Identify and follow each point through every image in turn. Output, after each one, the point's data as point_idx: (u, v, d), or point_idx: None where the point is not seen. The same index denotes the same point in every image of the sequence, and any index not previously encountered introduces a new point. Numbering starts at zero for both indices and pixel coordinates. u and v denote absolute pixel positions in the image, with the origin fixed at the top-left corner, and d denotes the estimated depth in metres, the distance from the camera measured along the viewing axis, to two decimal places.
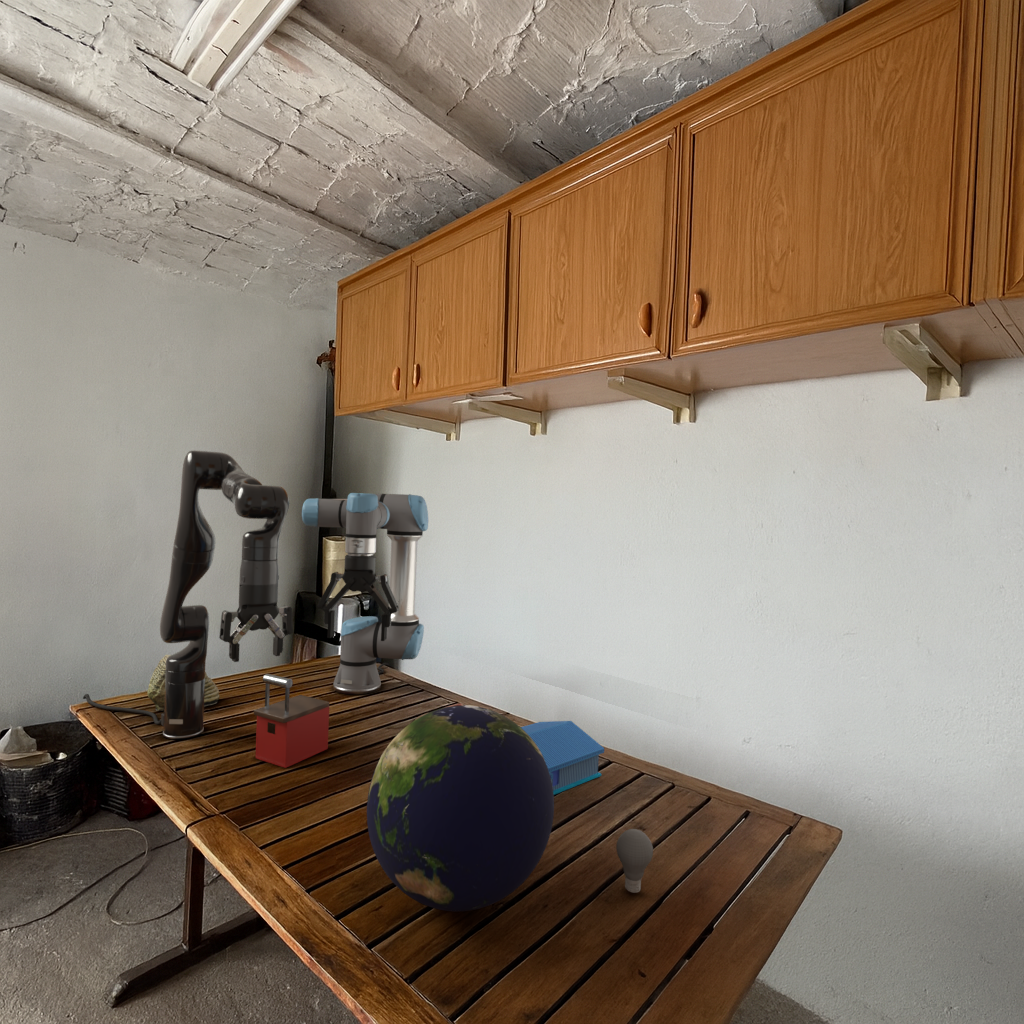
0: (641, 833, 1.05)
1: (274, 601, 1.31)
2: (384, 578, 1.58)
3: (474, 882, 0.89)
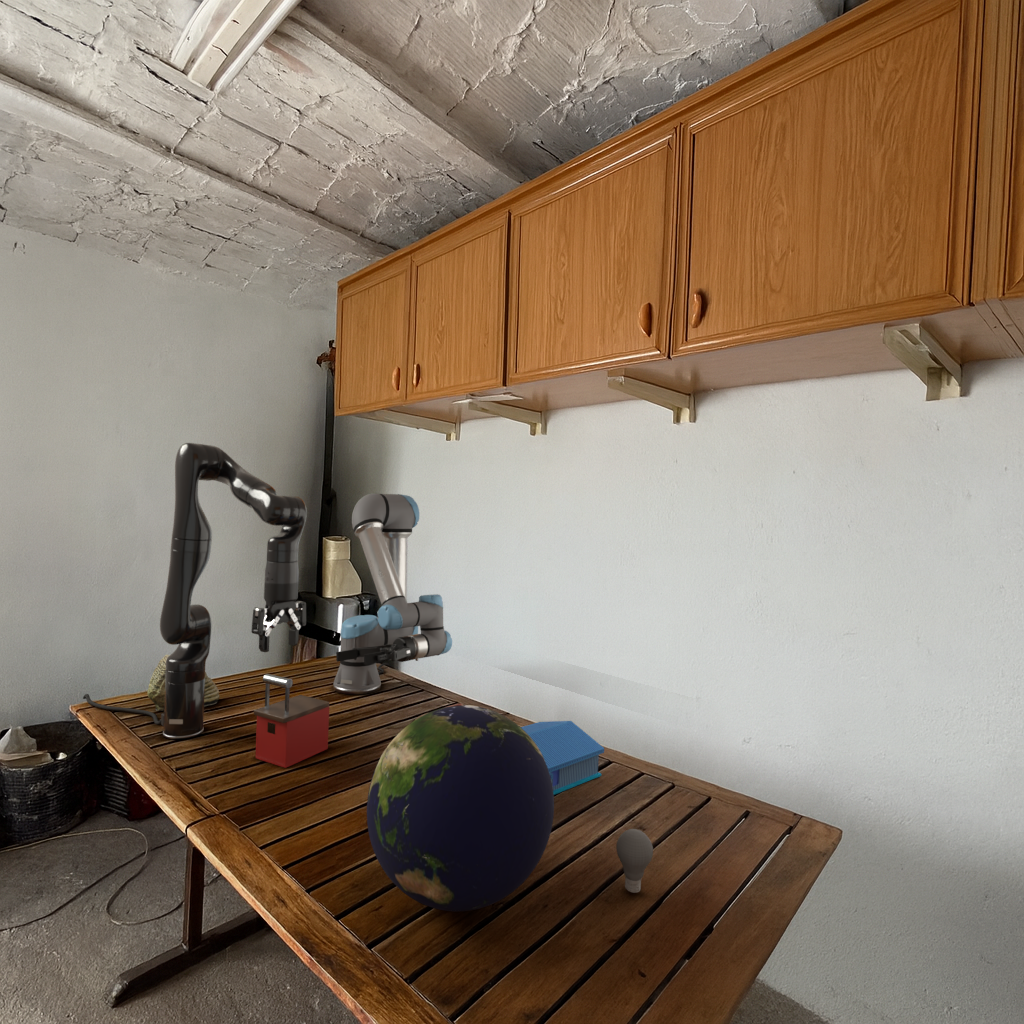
0: (641, 833, 1.05)
1: None
2: None
3: (474, 882, 0.89)
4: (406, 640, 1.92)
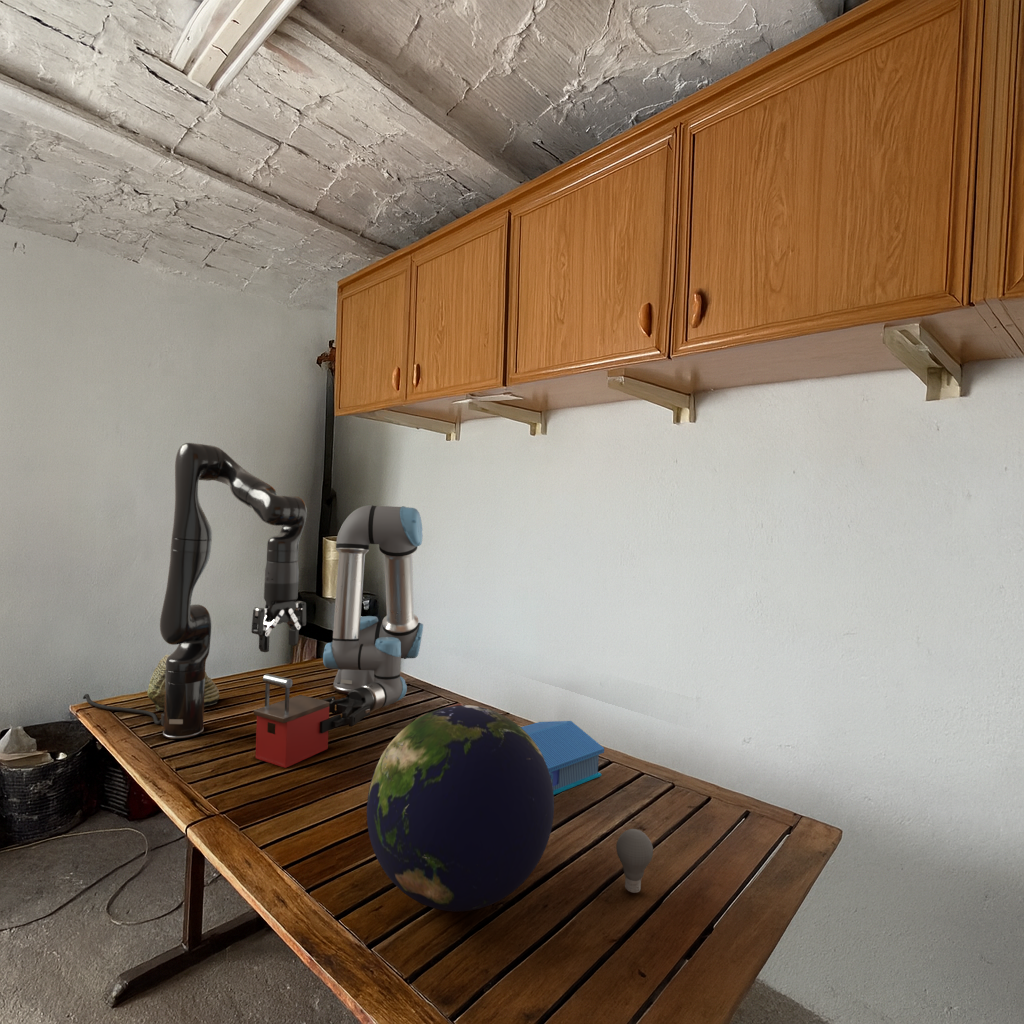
0: (641, 833, 1.05)
1: None
2: None
3: (474, 882, 0.89)
4: (364, 693, 1.74)
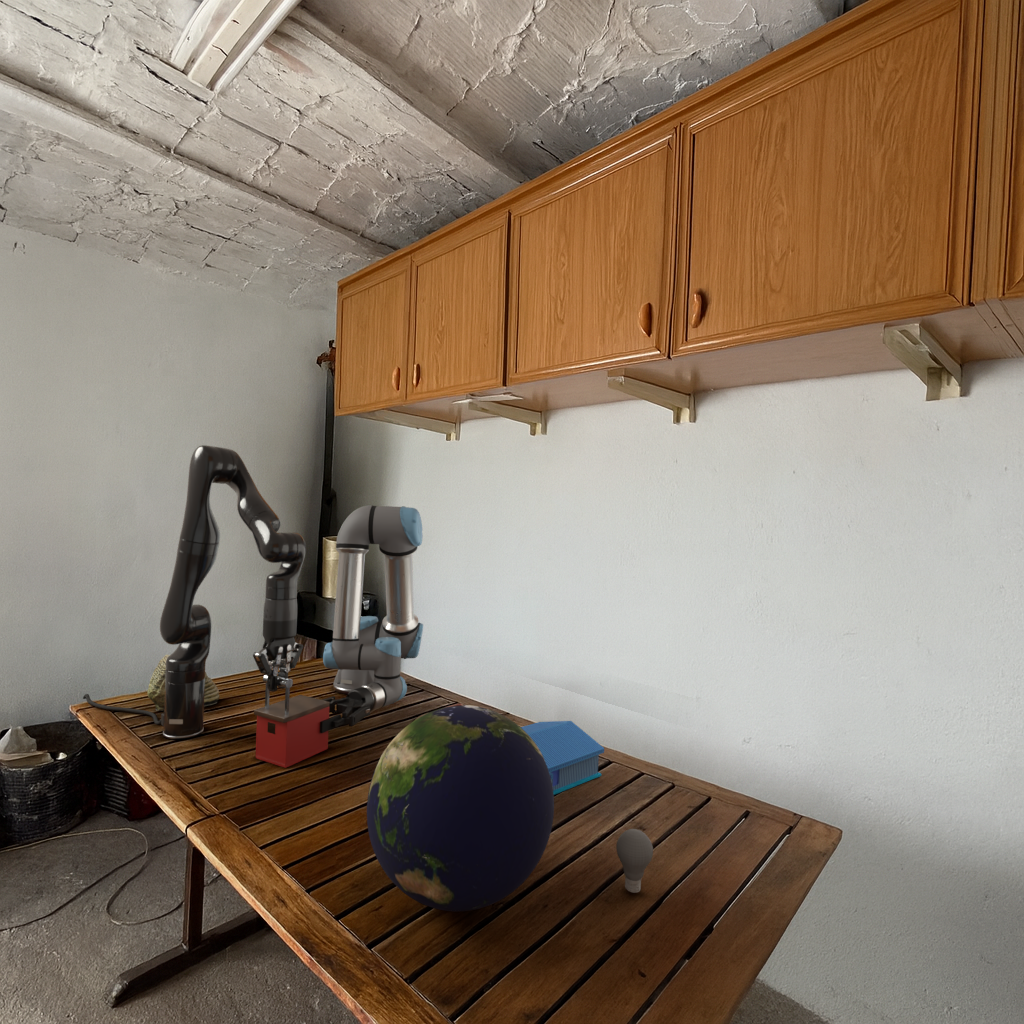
0: (641, 833, 1.05)
1: None
2: None
3: (474, 882, 0.89)
4: (364, 693, 1.74)
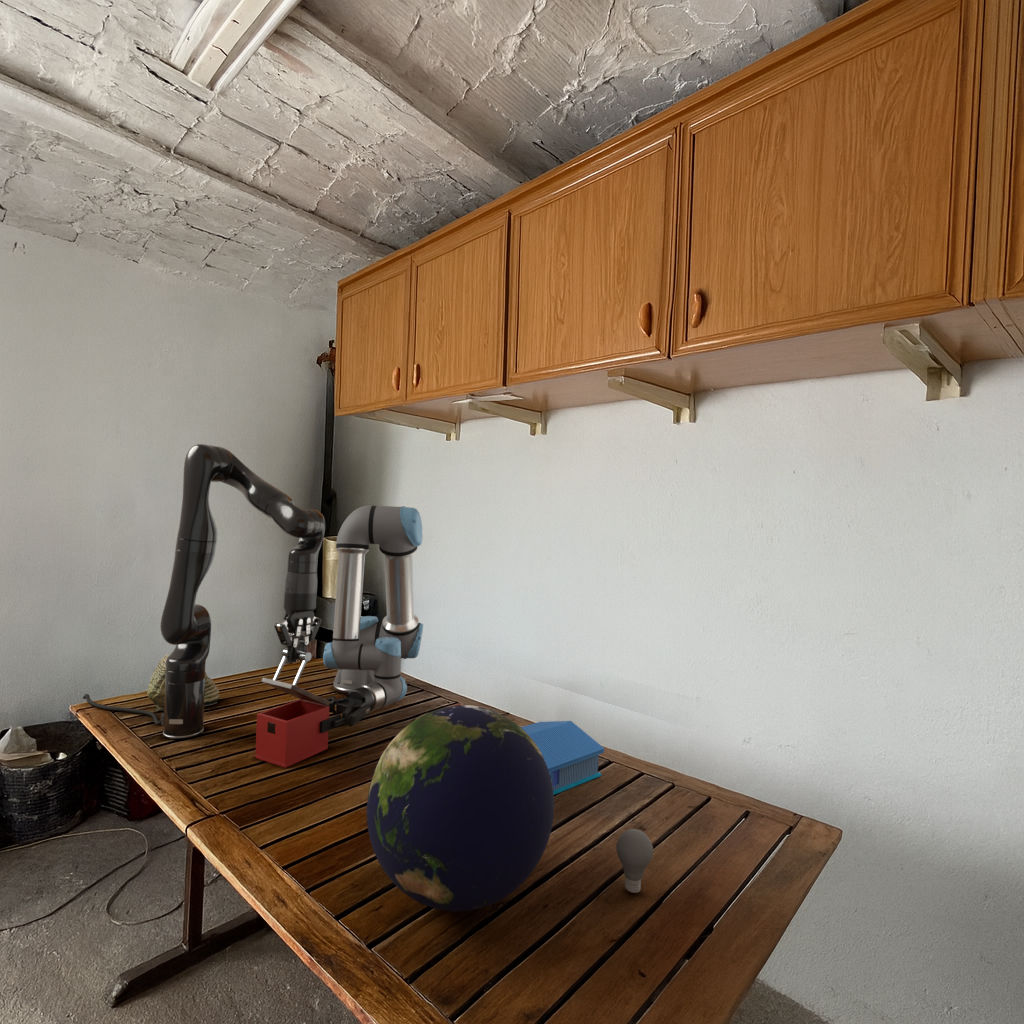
0: (641, 833, 1.05)
1: None
2: None
3: (474, 882, 0.89)
4: (364, 693, 1.74)
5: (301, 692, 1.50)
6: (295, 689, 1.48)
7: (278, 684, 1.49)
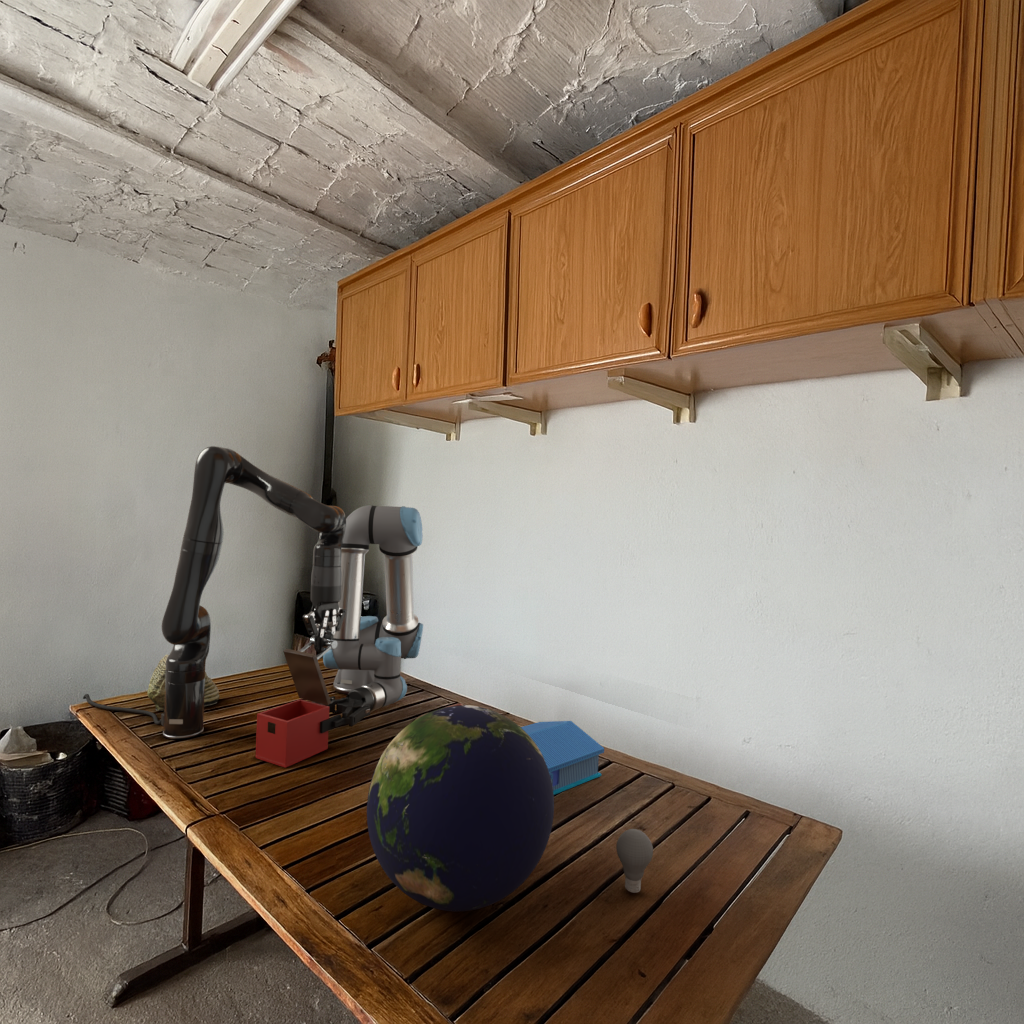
0: (641, 833, 1.05)
1: None
2: None
3: (474, 882, 0.89)
4: (364, 693, 1.74)
5: (317, 669, 1.54)
6: (315, 661, 1.54)
7: (300, 653, 1.55)
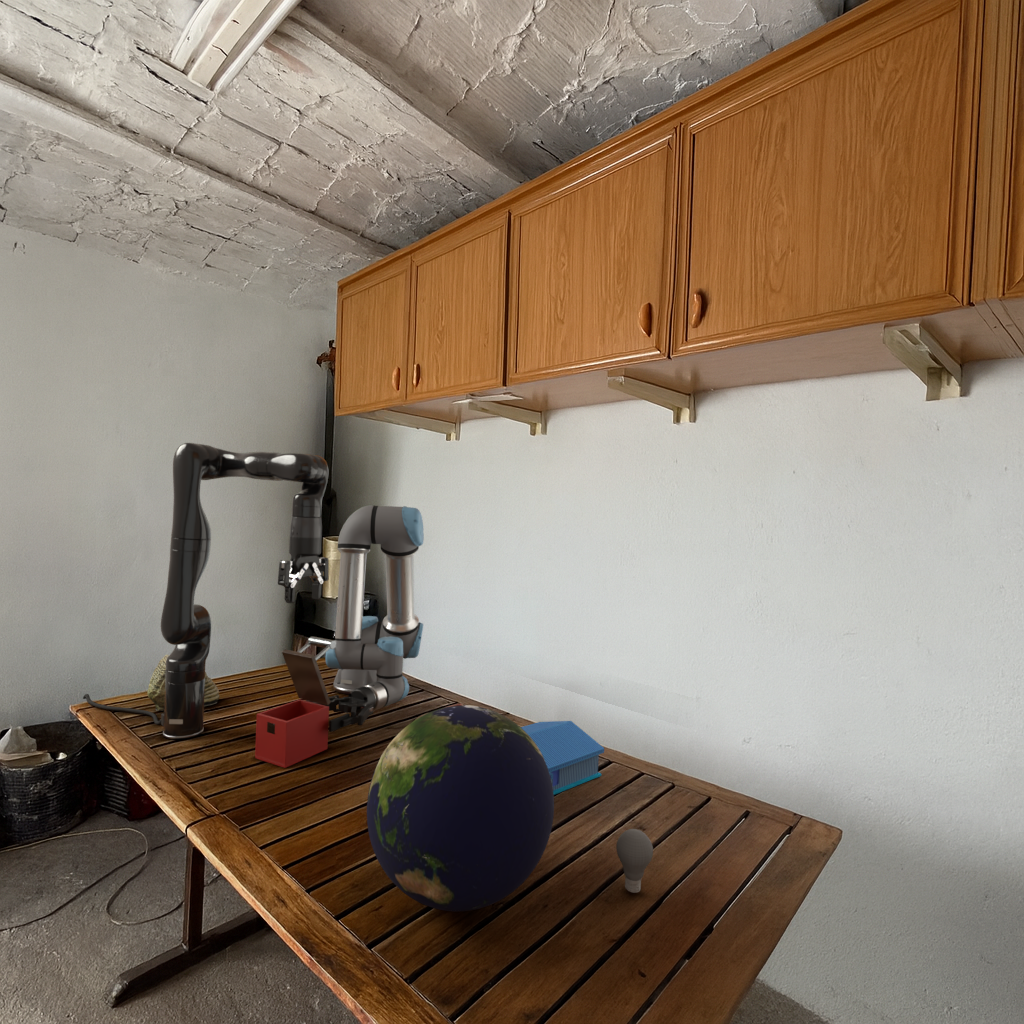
0: (641, 833, 1.05)
1: None
2: None
3: (474, 882, 0.89)
4: (366, 693, 1.75)
5: (316, 669, 1.54)
6: (313, 662, 1.53)
7: (299, 654, 1.55)
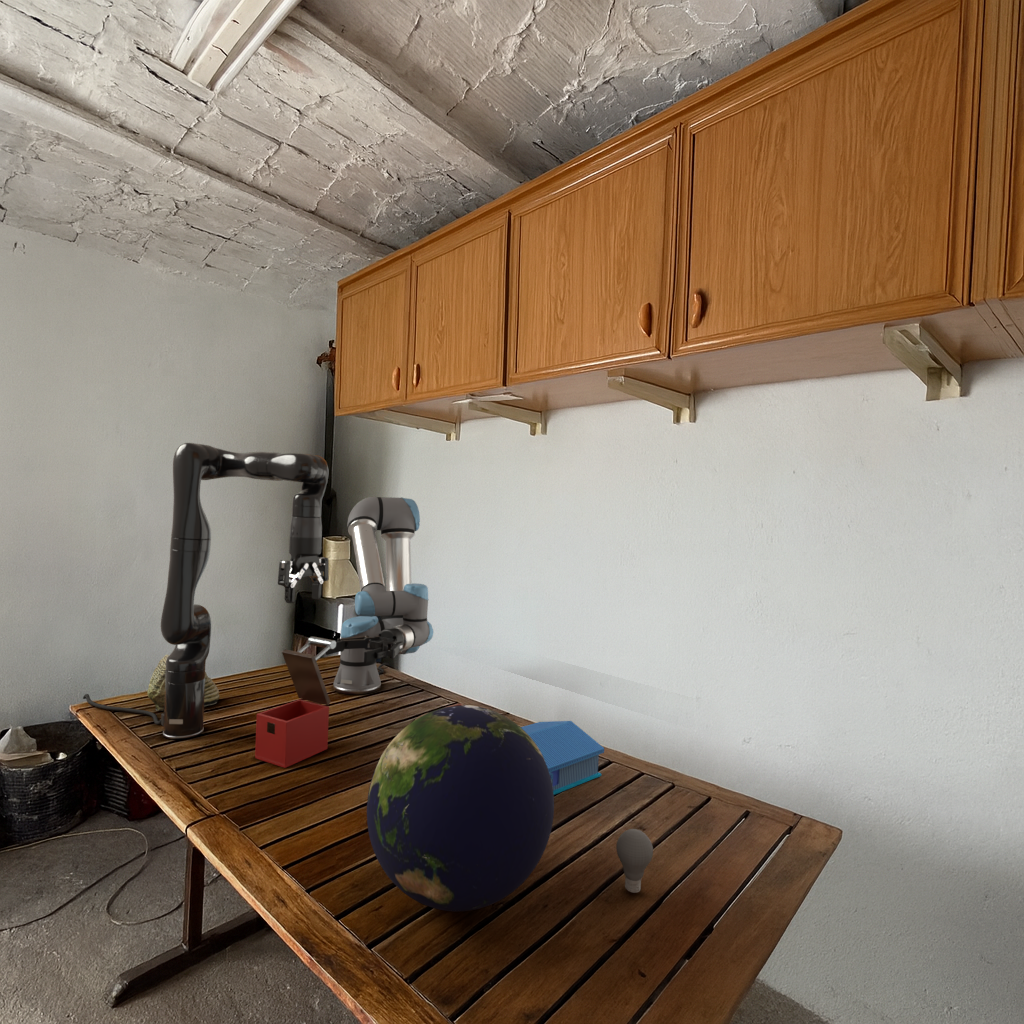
0: (641, 833, 1.05)
1: None
2: None
3: (474, 882, 0.89)
4: (395, 632, 1.85)
5: (316, 669, 1.54)
6: (313, 662, 1.53)
7: (299, 654, 1.55)
